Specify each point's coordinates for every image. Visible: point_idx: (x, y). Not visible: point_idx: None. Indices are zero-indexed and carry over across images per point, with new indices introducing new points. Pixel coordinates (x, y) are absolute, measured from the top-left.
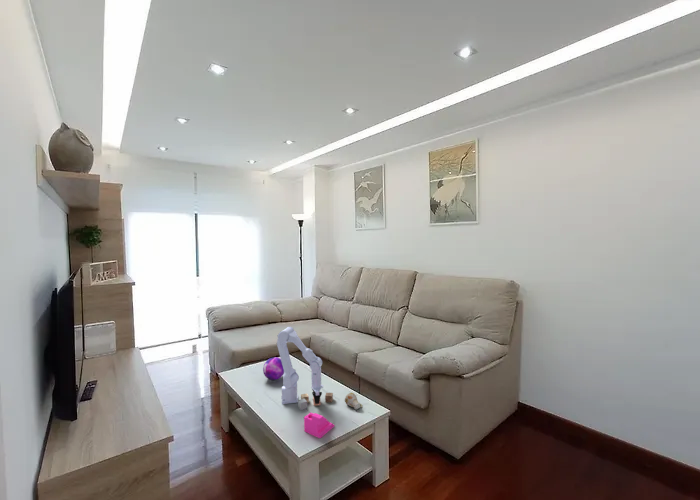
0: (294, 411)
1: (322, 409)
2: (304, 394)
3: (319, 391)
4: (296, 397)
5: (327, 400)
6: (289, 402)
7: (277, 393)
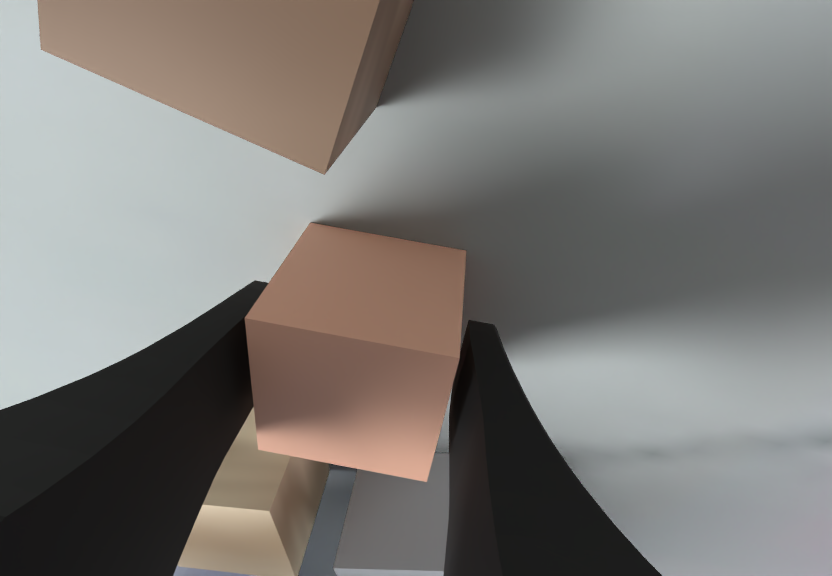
0: None
1: (676, 261)
2: None
3: (151, 407)
4: None
5: (387, 49)
6: None
7: None
